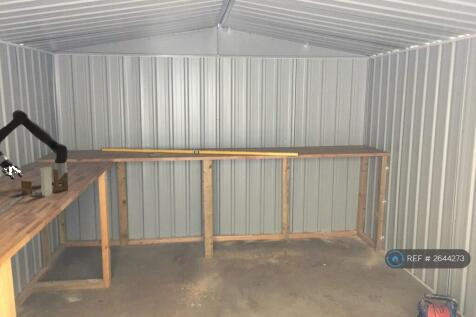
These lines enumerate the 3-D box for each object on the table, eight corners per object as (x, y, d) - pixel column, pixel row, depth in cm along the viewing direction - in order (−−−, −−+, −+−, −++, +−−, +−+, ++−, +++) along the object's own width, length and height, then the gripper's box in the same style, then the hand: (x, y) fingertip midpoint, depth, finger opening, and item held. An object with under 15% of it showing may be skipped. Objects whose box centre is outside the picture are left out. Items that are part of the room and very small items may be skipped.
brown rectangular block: (25, 192, 323) (24, 180, 321) (32, 193, 322) (31, 180, 320) (21, 193, 319) (20, 181, 318) (28, 194, 318) (27, 181, 316)
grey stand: (39, 192, 324) (37, 165, 321) (54, 193, 322) (53, 166, 318) (29, 195, 314) (27, 168, 310) (44, 197, 311) (43, 169, 308)
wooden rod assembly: (68, 190, 335) (67, 168, 332) (55, 192, 327) (54, 169, 324) (66, 189, 338) (65, 167, 335) (52, 191, 329) (52, 169, 327)
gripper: (-1, 160, 313) (13, 176, 312) (13, 157, 327) (27, 173, 326) (-6, 166, 315) (8, 182, 314) (8, 163, 329) (21, 179, 328)
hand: (17, 177), depth 320 cm, fingers open, 8 cm apart
